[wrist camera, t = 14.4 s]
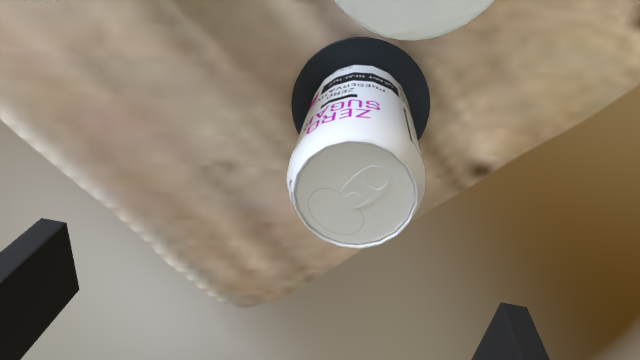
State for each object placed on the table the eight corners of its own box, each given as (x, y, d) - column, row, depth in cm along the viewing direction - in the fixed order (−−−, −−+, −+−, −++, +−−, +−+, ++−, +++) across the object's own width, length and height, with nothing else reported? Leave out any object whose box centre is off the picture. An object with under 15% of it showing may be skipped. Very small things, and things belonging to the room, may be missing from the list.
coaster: (268, 74, 36) (267, 75, 36) (399, 11, 33) (400, 11, 32) (327, 185, 41) (327, 187, 40) (447, 140, 37) (448, 142, 37)
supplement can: (360, 169, 39) (355, 278, 26) (294, 110, 37) (253, 196, 24) (427, 110, 36) (460, 200, 23) (358, 41, 34) (352, 97, 21)
